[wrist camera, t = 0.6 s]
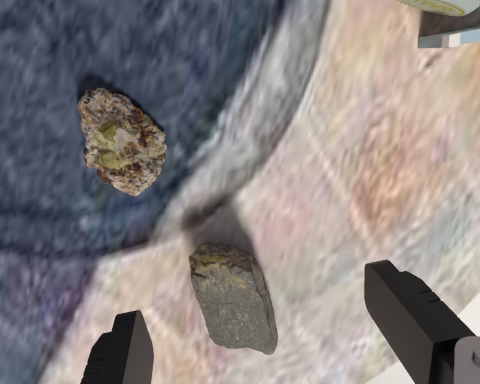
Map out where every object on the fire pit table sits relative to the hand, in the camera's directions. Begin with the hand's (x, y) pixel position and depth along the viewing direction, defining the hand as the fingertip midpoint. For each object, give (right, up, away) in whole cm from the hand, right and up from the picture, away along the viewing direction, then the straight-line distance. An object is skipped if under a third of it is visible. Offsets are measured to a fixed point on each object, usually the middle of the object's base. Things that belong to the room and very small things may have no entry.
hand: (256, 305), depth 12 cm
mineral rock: (-12, +9, +22) cm, 27 cm away
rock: (-1, -8, +30) cm, 31 cm away
